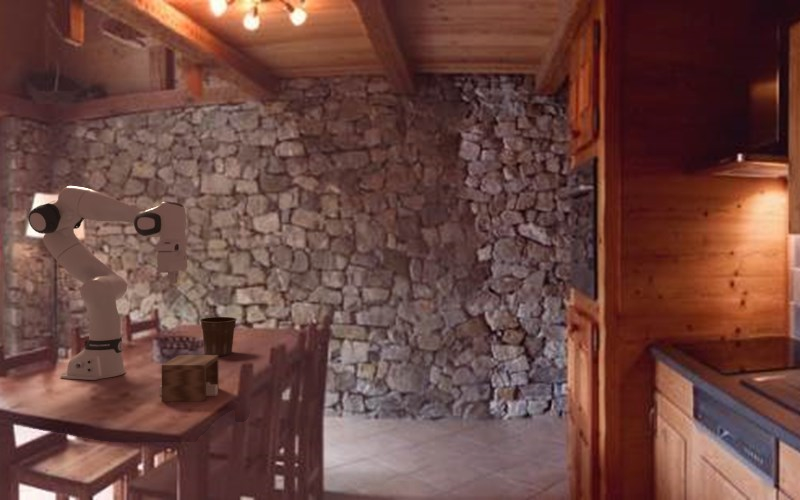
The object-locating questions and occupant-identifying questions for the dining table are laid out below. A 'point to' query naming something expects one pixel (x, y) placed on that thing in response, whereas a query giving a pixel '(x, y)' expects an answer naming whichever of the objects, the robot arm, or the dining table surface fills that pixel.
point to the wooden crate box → (188, 377)
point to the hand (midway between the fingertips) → (173, 283)
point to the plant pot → (218, 335)
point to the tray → (210, 389)
